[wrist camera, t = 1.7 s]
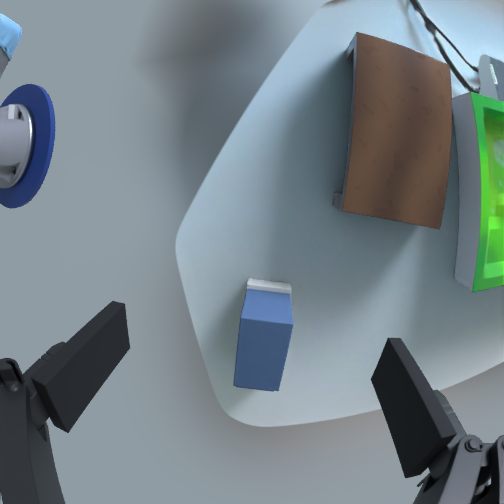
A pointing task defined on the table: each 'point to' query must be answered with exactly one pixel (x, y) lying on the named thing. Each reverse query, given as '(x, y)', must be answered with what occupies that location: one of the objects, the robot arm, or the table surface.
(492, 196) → the tray
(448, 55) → the table surface
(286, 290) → the block
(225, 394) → the table surface
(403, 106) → the shelf
